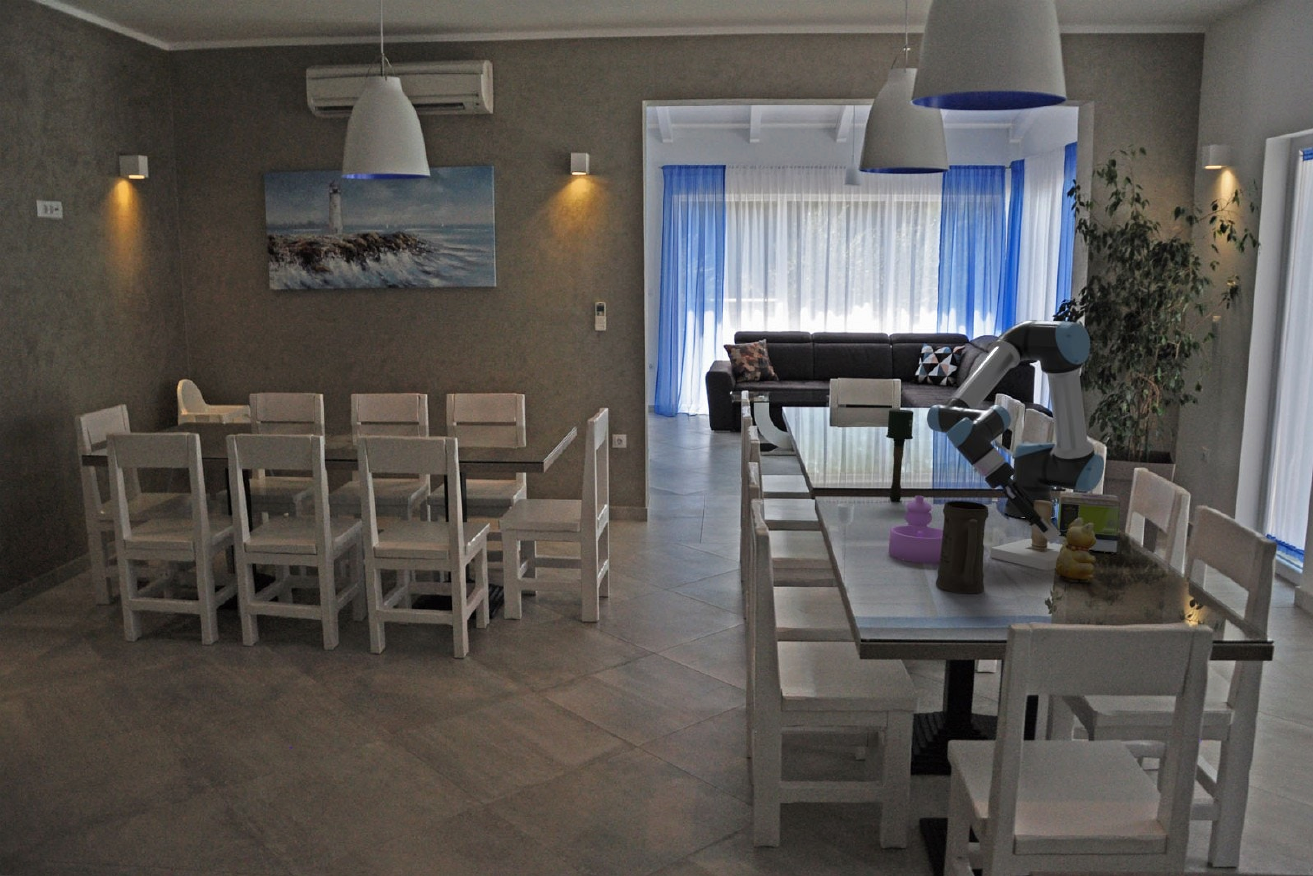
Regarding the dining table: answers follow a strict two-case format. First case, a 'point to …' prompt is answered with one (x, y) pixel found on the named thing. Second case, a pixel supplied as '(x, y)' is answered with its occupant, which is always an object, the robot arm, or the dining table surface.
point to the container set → (916, 535)
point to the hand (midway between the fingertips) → (1055, 538)
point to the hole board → (1028, 554)
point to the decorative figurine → (1077, 553)
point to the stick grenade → (898, 444)
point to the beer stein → (962, 547)
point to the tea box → (1091, 516)
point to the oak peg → (1037, 538)
